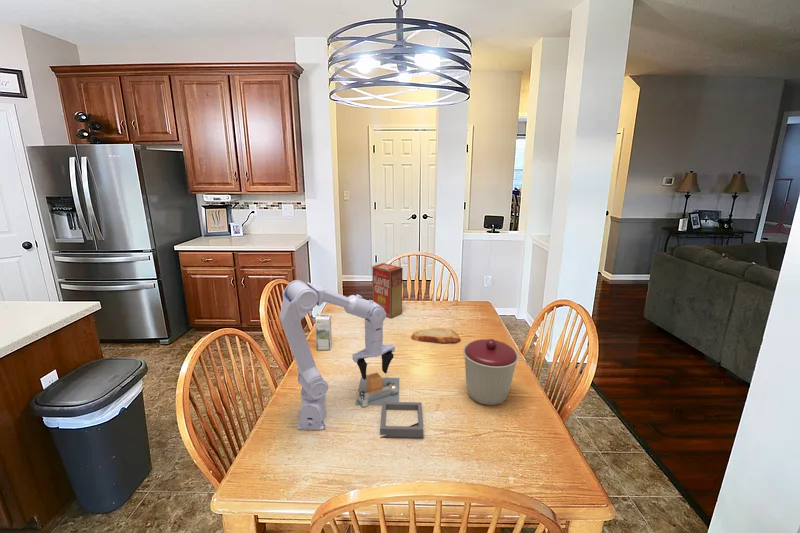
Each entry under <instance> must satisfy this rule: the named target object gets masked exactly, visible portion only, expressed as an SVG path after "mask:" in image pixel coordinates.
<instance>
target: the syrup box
mask: <svg viewBox="0 0 800 533" xmlns="http://www.w3.org/2000/svg"><path fill="white" fill-rule="evenodd" d="M314 320H315V340H316V351H331V349H332V345H333V336H332V335H333V334H332V333H333V332H332V314H331V313H317V314H316V317H315V319H314Z"/></svg>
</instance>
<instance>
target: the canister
mask: <svg viewBox="0 0 800 533" xmlns="http://www.w3.org/2000/svg"><path fill="white" fill-rule="evenodd" d="M462 354H463V356H464V364H465V365H464V366H465V369H464V370H465V383H466V385H465V386H466V390H467V392H468V395H469V396H470V397H471V399H473V400H474V401H475V402H477V403H480V404H482V405H486V406H487V405H488V406H495V405H499V404H502V403H504V401H505V400H507V398H508V395H509V393H510V390H511V389H510V388H511V386H512V383H513V382H512V381H513V378H514V372H515V368H516V364H517V363H518V362H519V361H520V360H519V359H520V355H519V353H518V351H517V350H516V349H515V348H513V347H512V346H510V345H509V344H507V343H505V342H502V341H499V340H496V339H495V338H494V339H493V338H488V339H487V338H485V339H477V340H473V341H470V342H468V343H466V344H465V345H464V346H463V348H462Z"/></svg>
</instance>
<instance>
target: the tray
mask: <svg viewBox="0 0 800 533" xmlns="http://www.w3.org/2000/svg"><path fill="white" fill-rule="evenodd" d="M422 403H423V402H415V401H413V402H411V401H409V402H408V401H406V402H405V401H399V402H382V406H381V414H380V415H381V417H380V427H379V435H381V436H380V439H415V440H416V439H418V440H423V439H424V420H423V419H424V418H423V406H422ZM387 410H388V411H417V423H416V422H415V423H413V424H411V425H409V426H408V425H407V426H405V425H403V426H402V425H401V426H400V425H398V426H397V425H386V418H387V417H386V416H387V415H386V414H387Z"/></svg>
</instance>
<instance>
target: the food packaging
mask: <svg viewBox="0 0 800 533" xmlns="http://www.w3.org/2000/svg"><path fill="white" fill-rule="evenodd" d="M371 269H372V272H371V273H372V276H371V277H372V301H373V302H375V303H377V304H378V305H380V306H382V307H383V308H384V310H385V313H386V318H388V319H393V318H396V317H398V316H400V315H402V314H403V267H401V266H397V265H393V264H388V263H385V262H380V263H379V264H377V265H372V268H371Z"/></svg>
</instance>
